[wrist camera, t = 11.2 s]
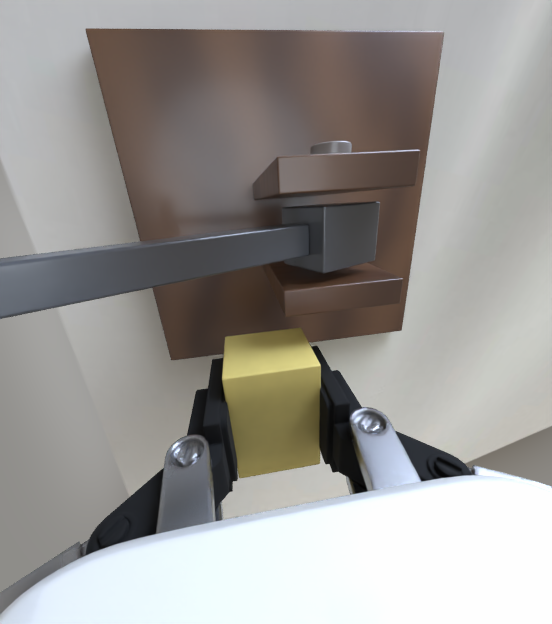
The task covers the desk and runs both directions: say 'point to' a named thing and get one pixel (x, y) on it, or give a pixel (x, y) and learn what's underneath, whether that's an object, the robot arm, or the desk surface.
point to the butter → (272, 400)
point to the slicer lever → (191, 257)
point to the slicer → (271, 163)
